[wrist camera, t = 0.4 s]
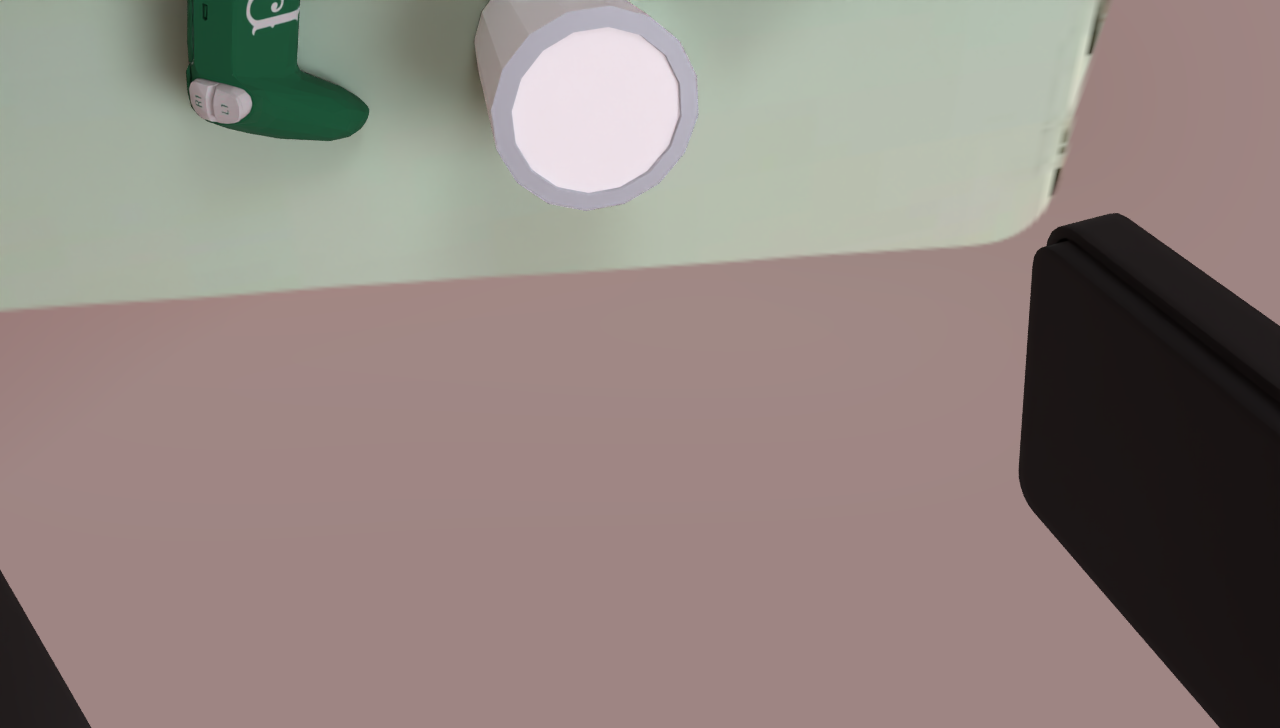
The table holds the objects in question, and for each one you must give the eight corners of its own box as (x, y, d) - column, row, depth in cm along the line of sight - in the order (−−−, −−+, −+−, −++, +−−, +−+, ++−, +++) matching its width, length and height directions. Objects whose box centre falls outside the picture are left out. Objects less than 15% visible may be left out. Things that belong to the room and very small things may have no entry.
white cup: (492, 158, 46) (529, 241, 41) (429, -14, 42) (461, 52, 37) (660, 96, 47) (720, 169, 41) (614, -80, 43) (673, -25, 37)
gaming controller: (309, -162, 41) (165, -159, 36) (400, -133, 39) (263, -126, 34) (295, 104, 45) (166, 138, 40) (376, 137, 44) (252, 177, 39)
